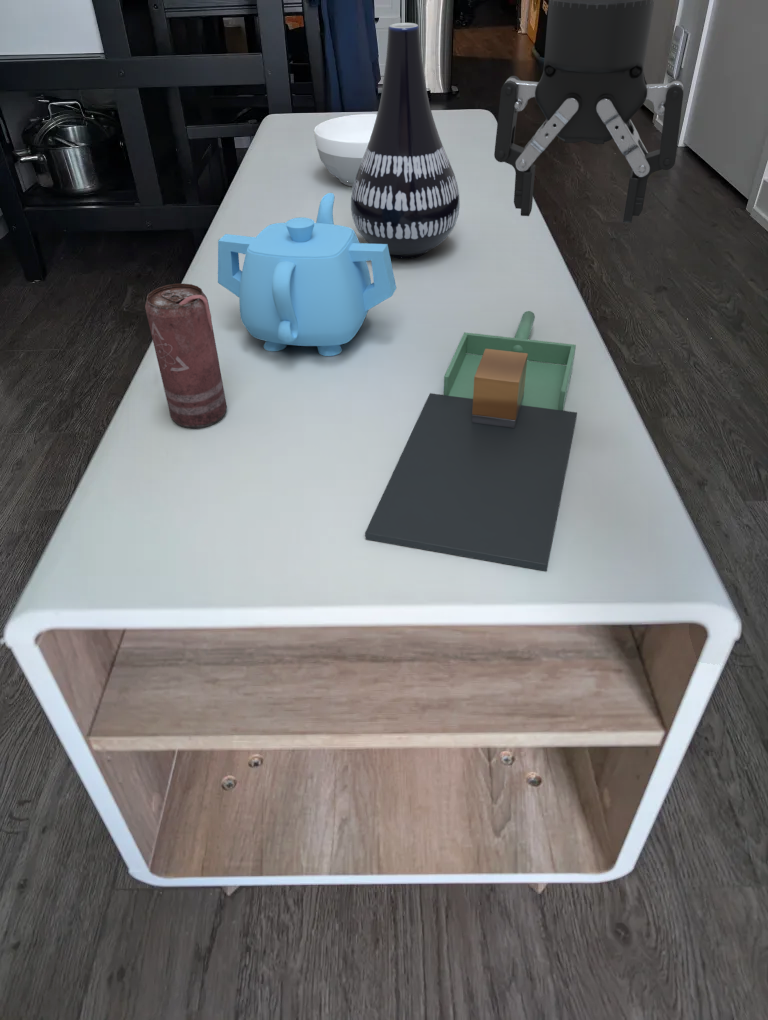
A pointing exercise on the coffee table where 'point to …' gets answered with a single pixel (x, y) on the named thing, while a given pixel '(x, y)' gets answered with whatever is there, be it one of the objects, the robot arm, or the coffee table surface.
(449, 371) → the dustpan
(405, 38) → the vase
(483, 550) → the slate
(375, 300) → the teapot
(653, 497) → the coffee table surface
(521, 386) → the eraser
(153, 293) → the can
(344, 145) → the bowl
